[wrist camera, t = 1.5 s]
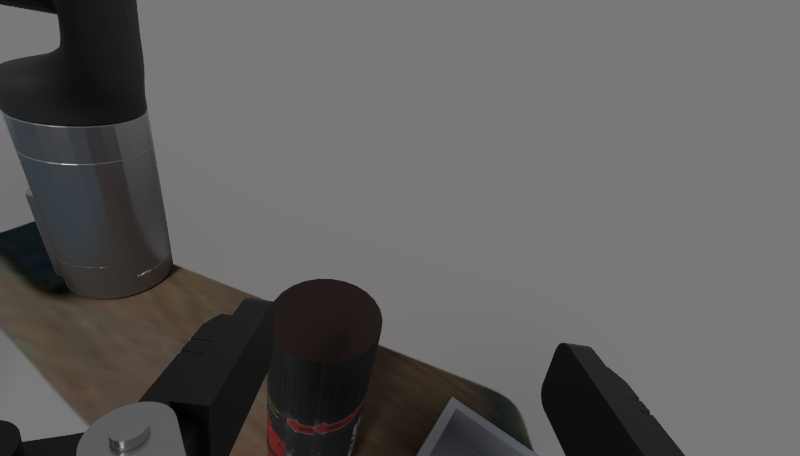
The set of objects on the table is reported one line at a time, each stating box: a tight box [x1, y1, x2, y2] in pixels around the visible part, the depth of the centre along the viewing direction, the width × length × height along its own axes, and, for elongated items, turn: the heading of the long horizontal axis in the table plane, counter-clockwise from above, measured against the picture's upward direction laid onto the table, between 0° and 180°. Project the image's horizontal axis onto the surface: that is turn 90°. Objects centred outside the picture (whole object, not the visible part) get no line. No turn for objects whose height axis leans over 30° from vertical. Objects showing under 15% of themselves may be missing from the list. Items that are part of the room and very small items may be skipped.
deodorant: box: [267, 279, 382, 456], centre depth 23 cm, size 6×6×15 cm
